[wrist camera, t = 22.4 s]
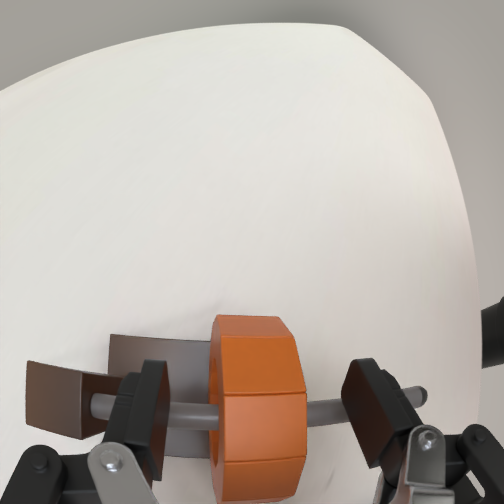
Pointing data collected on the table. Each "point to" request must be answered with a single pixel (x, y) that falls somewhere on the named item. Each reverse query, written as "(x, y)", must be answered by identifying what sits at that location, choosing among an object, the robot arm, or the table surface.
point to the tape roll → (256, 410)
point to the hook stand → (181, 390)
